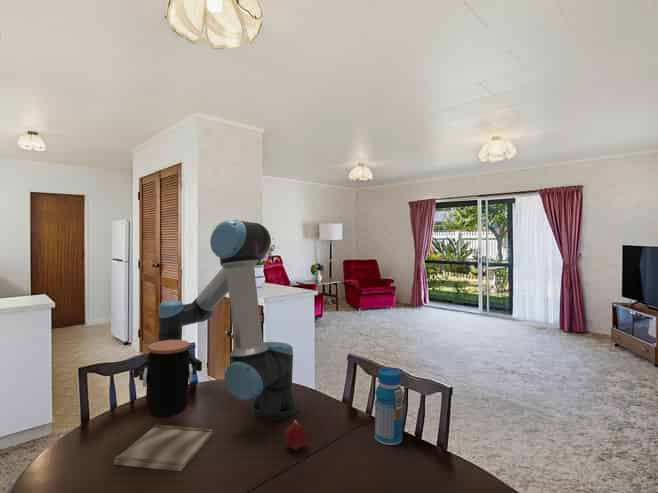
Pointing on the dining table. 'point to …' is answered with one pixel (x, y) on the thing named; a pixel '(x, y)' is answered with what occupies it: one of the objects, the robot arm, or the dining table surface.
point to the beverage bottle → (389, 407)
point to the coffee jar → (167, 378)
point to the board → (165, 448)
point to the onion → (295, 435)
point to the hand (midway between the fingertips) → (168, 378)
